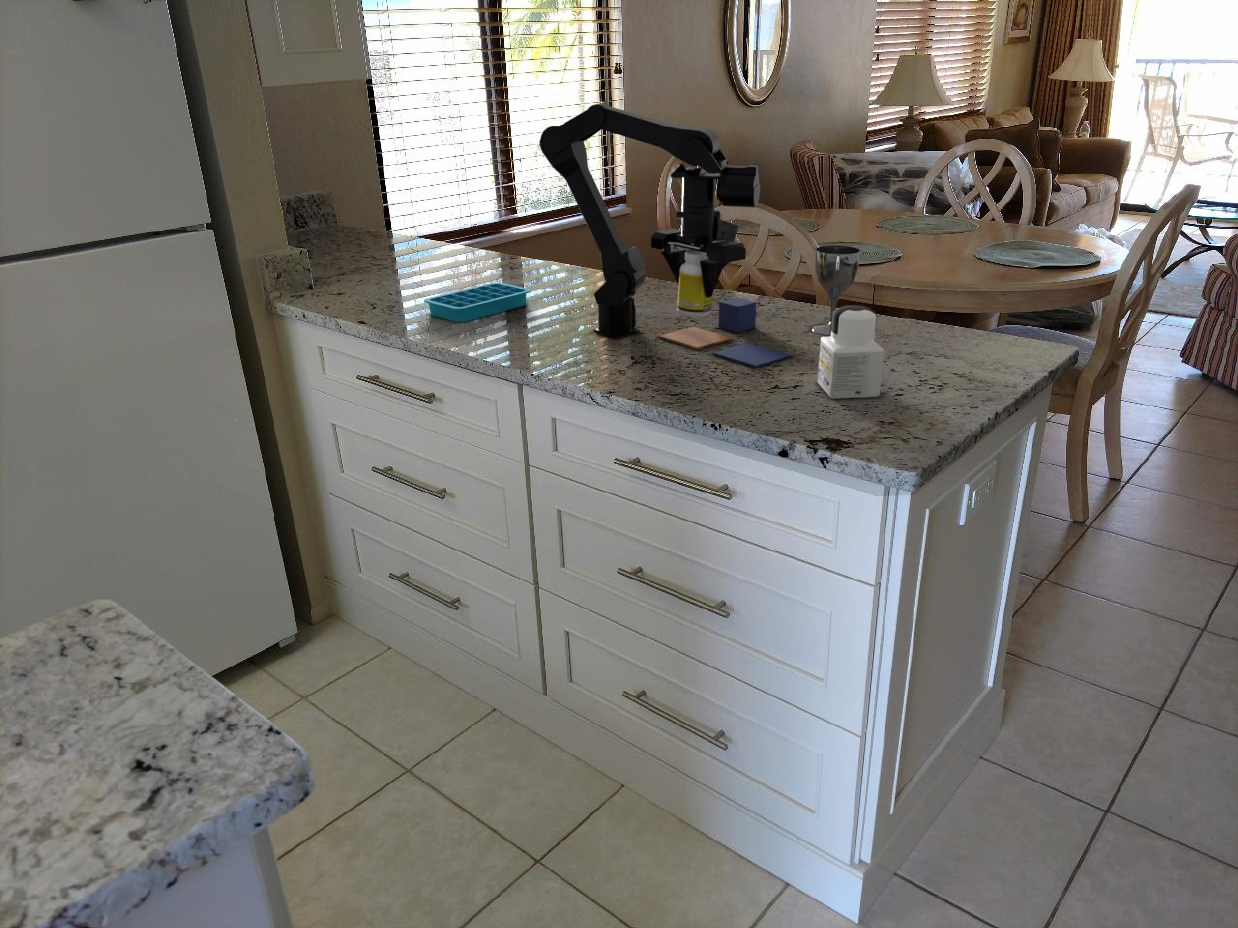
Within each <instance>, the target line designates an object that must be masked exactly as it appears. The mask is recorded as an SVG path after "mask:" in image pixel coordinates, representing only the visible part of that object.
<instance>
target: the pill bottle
mask: <svg viewBox="0 0 1238 928" xmlns="http://www.w3.org/2000/svg"><path fill="white" fill-rule="evenodd" d="M706 259H708V257H707V253H705V252H700V251H696V250H688V251H686V252H685V261H686V262H685V263H684V264H682V265H681V267H680V271H679V286H678V289H677V305H676V306H677V307H676V310H677V313H678V314H679V315H682V316H685V317H691V318H703V317H707V316H709V315H710V314H711V312H712V304H713V303H712V302H713V295H712V296H711V297H706V295H705V291H704V285H703V278H702V271H701V264H700V261H701V260H706Z"/></svg>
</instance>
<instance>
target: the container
mask: <svg viewBox="0 0 1238 928" xmlns="http://www.w3.org/2000/svg"><path fill="white" fill-rule="evenodd" d="M877 318H878V314H877V312H876V311H875V310H873V309H871V308H869V307H867V306H862V305H843V306H840V307H836V310H835V311H834V312H833V315H832V328H831V335H827V336H821V338H820V345H819V347H820V348H819V360H818V371H817V384H819V386H820V387H821V388H822V390H823V391H824V392H825V393H826V394H827V396H828V397H829V398H830V399H832V400H837V399H860V398H861V399H863V398H878V397H880V395H881V388H882V387H881V386H882V378H883V377H882V376H883V368H884V357H885V349H884V348H883V347H882V346H881V345H880V344H879V343H877V342H876V341H875V338H876V329H877V321H878V320H877Z"/></svg>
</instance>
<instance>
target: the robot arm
mask: <svg viewBox="0 0 1238 928" xmlns="http://www.w3.org/2000/svg"><path fill="white" fill-rule="evenodd" d="M600 131H605V132H609V133H612V134H615V135H619V136H622V137H625V138H628V139H632V140H634V141H635V140H636V141H639V142H641V143H644V144H647V145H651V146H655V147H657V148H659V149H662V150H664V151H665V152H667V153H669V154H670V155H671V156H673V157H674V158H676V159H677V160H679V161H682V162H680V163H679V164H678V166H677V168H676V169H674V170H673V172H671V173H670V178H672V179H682V181H681V182H682V183H681V210H680V209H679V210H676V217H677V218H680V219H681V225H680V226H681V229H676V228H668V229H663V230H656V231H654V232H653V234H652V235H651V237H650V248H652V249H656V250H660V251H659V254H660V255H661V256H663V258H664V259H665V261H666V263H667V265H668V267H669V269H670V272H671V273H672V275H673V277H674V279H675V281H676V284H677V286H678V287H679V271H680V267H681V265H682V264H684V263H685V262H686V261H685V252H686V251H688V250H696V251H700V252H705V253H707V257H708V259H706V260H701V261H700V264H701V271H702V278H703V285H704V291H705V295H706V297H711V296H712V297H713V293H714V291H715V289H716V286H717V283H718V281H719V278H720V276H721V274H722V272H723V270H724V268H725V267H726V266H727V265H729V263H733V262H738V261H742V260H746V258H747V247H746V245H745V244H744V243H743V242H741V241H736V238H737V235H738V231H739V225H738V224H736V223H735V224H734V223H732V222H730V221H727V220H724V219H721V215H722V214H721V212H720V210H718V209H716V199H717V200H718V202H721V203H722V206H723V207H732V208H733V207H734V208H735V207H736V208H754V209H757V207H758V205H759V201H760V195H761V183H760V174H759V166H758V165H746V166H744V165H741V166H740V165H731V163H730V162H729V160H728V158H727V156H726V155H725V154H724V152H723V151H722V149H721V147H720V146H721V143H720V138H719V136H718V135H717V132H716V131H714V129H712V128H709V127H706V126H696V125H695V126H694V125H681V124H669V123H667V122H663V121H660V120H656V119H653V118H650V117H647V116H643V115H641V114H637V113H633V112H630V111H627V110H623V109H621V108H618V107H614V106H611V105H610V104H608V103H606V102H600V103H595V104H592V105H590V106H588V108H587V109H586V110H584V111H582V112H580V113H579V114H577V115H575V116H574V117H572V118H571V119H568V120H567V121H565V122H562V123H558V124H554V125H553V124H552V125H550V126H547V127H546V128H545V129H544V130H543V131H542V132H541V134H540V138H539V148H540V151H541V152H542V154H543V155H544V158H545V159H546V160H547V161H548V163H549V164H550V166H551V167H552V168H553V169H554V170H555V171H556V172H557V173H558V174H559V175H560V176H561V177H562V178H563V180H564V181H565V182H566V184H567V186H568V188H569V190H570V192H571V195H572V196H573V199H574V201H575V202H576V205H577V207H578V209H579V211H580V213H581V215H582V217H583V220H584V222H585V223H586V225H587V227H588V230H589V232H590V234H591V236H592V238H593V239H594V242H595V244H596V246H597V248H598V250H599V254H600V262H601V271H602V275H603V279H604V281H605V282H604V283H602V285H601V286H600V287H599V288H598V289H597V290H595V292H593V297H594V299H595V302H596V304H597V307H598V308H597V312H598V313H597V315H598V316H597V317H598V318H597V319H598V321H597V322H598V327H594V328H593V329H592V330H593V332H594V333H597V334H600V335H603V336H606V337H610V338H613V339H617V338H621V337H625V336H630V335H633V334H634V335H635V334H638V333H640V332H641V330H640V328H637V327H636V326H637V325H636V324H637V323H636V321H637V318H636V316H637V313H636V311H637V310H636V305H635V298H634V296H635V295H636V292H637V290H638V289H639V288H640V287H642V286H643V284H644V283H645V280H646V278H647V271H646V267H647V266H648V264H647V262H646V261H645V260H644V259H643V257H642V255H641V251H640V249H639V247H638V245H635V246H633V247H629V245H628V244H626V243H625V242H624V240H623V239H622V236H621V234H620V232H619V229H618V228H617V226H616V223H615V222H614V220H613V217H612V215H611V213H610V211H609V209H608V207H607V205H606V203H605V200H604V199H603V196H602V195H601V192H600V190H599V187H598V186H597V184H596V182H595V180H594V179H595V178H593V175H592V173H591V171H590V169H589V163H588V161H589V160H588V151H587V148H586V144H585V142H586V141H588V140H589V139H591V138H592V137H593V136H595V135H596V134H597V133H599V132H600ZM689 165H690V167H689ZM691 166H692V167H691Z"/></svg>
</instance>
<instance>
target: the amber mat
mask: <svg viewBox="0 0 1238 928" xmlns="http://www.w3.org/2000/svg"><path fill="white" fill-rule="evenodd" d="M658 338H659V339H662V340H665V341H668V342H672V343H675V344H678V345H681V346H684V347H687V348H691V349H694V350H701V349H704V348H707V347H711V346H715V345H719V344H722V343H725V342H730V341H732V340H733V337H731V336H727V335H723V334H721V333H716V332H713V331H711V330H706V329H703V328H699V327H696V326H691V327H687V328H684V329H679V330H675V331H672V332H668V333H665V334H660V335H658Z"/></svg>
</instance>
